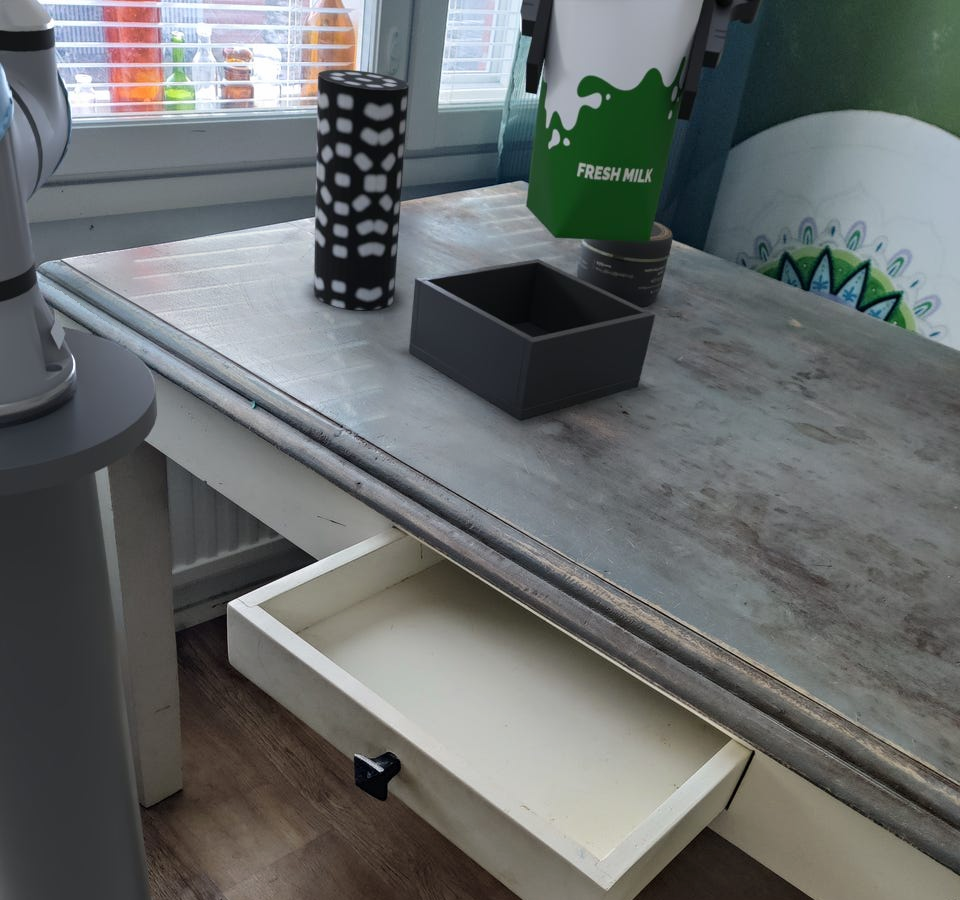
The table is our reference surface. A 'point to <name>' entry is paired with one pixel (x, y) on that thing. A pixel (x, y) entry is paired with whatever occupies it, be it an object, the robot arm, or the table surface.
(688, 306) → the table surface
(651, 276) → the jar
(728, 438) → the table surface
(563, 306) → the basket
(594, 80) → the milk carton
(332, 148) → the white-spotted black cylinder
